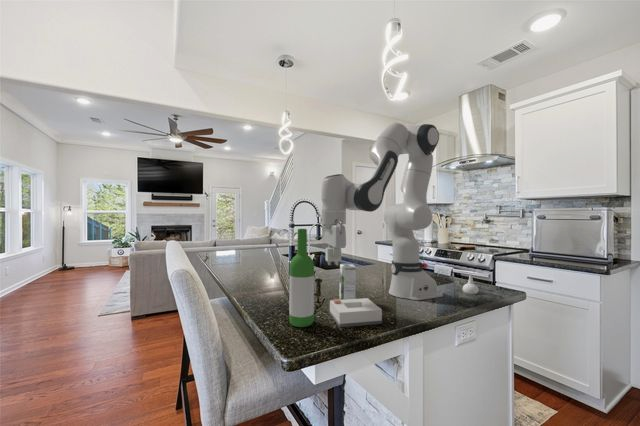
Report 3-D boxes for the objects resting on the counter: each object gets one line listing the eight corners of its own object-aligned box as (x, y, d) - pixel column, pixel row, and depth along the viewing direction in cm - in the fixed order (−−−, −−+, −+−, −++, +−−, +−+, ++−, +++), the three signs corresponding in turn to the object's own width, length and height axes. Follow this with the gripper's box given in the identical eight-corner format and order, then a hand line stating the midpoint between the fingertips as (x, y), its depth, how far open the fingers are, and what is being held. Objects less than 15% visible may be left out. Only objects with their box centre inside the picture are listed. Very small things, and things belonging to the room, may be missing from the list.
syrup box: (338, 299, 115) (339, 263, 114) (353, 299, 115) (353, 263, 115) (341, 304, 109) (341, 266, 109) (356, 303, 109) (356, 266, 109)
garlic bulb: (478, 296, 122) (480, 278, 122) (462, 293, 125) (464, 275, 125) (477, 292, 128) (479, 275, 128) (462, 289, 131) (464, 272, 130)
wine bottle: (313, 318, 94) (314, 228, 94) (313, 328, 86) (314, 229, 86) (290, 318, 94) (290, 228, 94) (288, 328, 86) (288, 229, 86)
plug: (338, 263, 105) (338, 247, 105) (341, 265, 101) (341, 248, 101) (325, 264, 104) (325, 247, 104) (327, 265, 100) (327, 249, 100)
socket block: (367, 310, 102) (367, 295, 102) (381, 323, 90) (381, 307, 90) (329, 313, 99) (329, 298, 99) (339, 327, 87) (339, 310, 87)
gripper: (350, 220, 93) (350, 262, 93) (335, 218, 113) (334, 253, 113) (332, 220, 92) (332, 263, 92) (319, 218, 112) (319, 253, 112)
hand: (333, 257), depth 103 cm, fingers closed on plug, 4 cm apart
